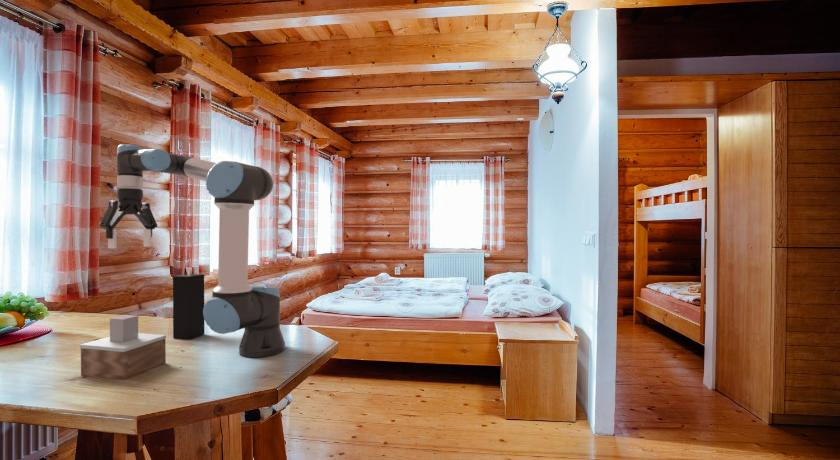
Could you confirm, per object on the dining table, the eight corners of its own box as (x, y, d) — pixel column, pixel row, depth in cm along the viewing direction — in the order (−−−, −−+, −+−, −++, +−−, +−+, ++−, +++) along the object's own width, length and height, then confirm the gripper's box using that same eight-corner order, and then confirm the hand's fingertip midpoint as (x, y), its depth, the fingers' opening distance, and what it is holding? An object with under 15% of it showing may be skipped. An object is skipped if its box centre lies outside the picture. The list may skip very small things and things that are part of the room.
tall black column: (189, 339, 154) (189, 268, 154) (172, 338, 156) (172, 267, 156) (204, 334, 162) (204, 266, 162) (188, 333, 164) (187, 265, 163)
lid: (165, 338, 128) (166, 335, 128) (123, 352, 114) (123, 348, 114) (125, 335, 132) (125, 332, 132) (80, 348, 117) (80, 344, 117)
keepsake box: (165, 363, 128) (165, 338, 128) (124, 379, 114) (124, 351, 114) (125, 359, 131) (125, 335, 131) (80, 374, 118) (80, 348, 118)
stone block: (138, 338, 125) (138, 315, 125) (123, 342, 120) (123, 319, 120) (125, 337, 126) (125, 315, 126) (109, 341, 121) (109, 318, 121)
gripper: (152, 191, 156) (152, 245, 156) (86, 185, 131) (86, 249, 131) (167, 191, 154) (168, 245, 154) (104, 184, 130) (104, 249, 130)
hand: (130, 247), depth 143 cm, fingers open, 13 cm apart
